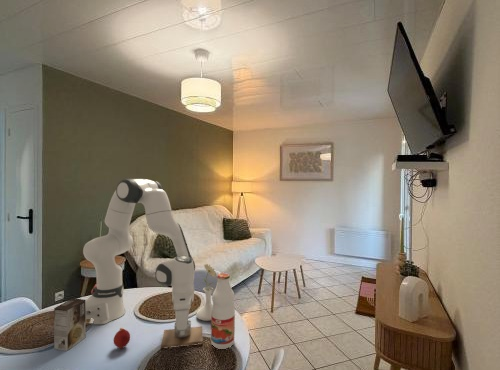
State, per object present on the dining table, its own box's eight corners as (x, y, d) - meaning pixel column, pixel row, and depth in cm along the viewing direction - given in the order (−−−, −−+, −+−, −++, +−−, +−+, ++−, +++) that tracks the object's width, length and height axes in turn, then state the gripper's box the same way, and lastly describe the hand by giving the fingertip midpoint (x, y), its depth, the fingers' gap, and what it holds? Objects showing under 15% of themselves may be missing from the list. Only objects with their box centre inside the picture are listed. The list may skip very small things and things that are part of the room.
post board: (160, 350, 103) (161, 327, 103) (164, 334, 114) (164, 314, 114) (202, 345, 107) (202, 324, 106) (202, 330, 117) (202, 310, 117)
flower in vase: (222, 320, 125) (223, 267, 125) (198, 325, 121) (199, 270, 121) (215, 308, 137) (216, 260, 137) (193, 312, 133) (194, 262, 133)
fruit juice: (238, 340, 110) (239, 272, 110) (227, 353, 101) (228, 280, 101) (218, 334, 114) (219, 269, 114) (206, 346, 105) (207, 276, 105)
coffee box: (72, 335, 112) (72, 297, 111) (86, 337, 110) (86, 299, 110) (53, 349, 103) (53, 307, 102) (67, 351, 101) (67, 309, 101)
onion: (125, 341, 108) (125, 322, 108) (132, 347, 104) (133, 327, 104) (110, 348, 103) (111, 328, 103) (117, 354, 100) (118, 333, 100)
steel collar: (174, 338, 107) (174, 328, 107) (175, 329, 113) (175, 320, 113) (190, 336, 108) (190, 326, 108) (190, 328, 114) (190, 318, 114)
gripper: (177, 286, 120) (176, 317, 120) (173, 308, 100) (172, 344, 100) (191, 285, 121) (191, 316, 121) (190, 306, 101) (190, 342, 101)
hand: (182, 329), depth 110 cm, fingers closed on steel collar, 6 cm apart
